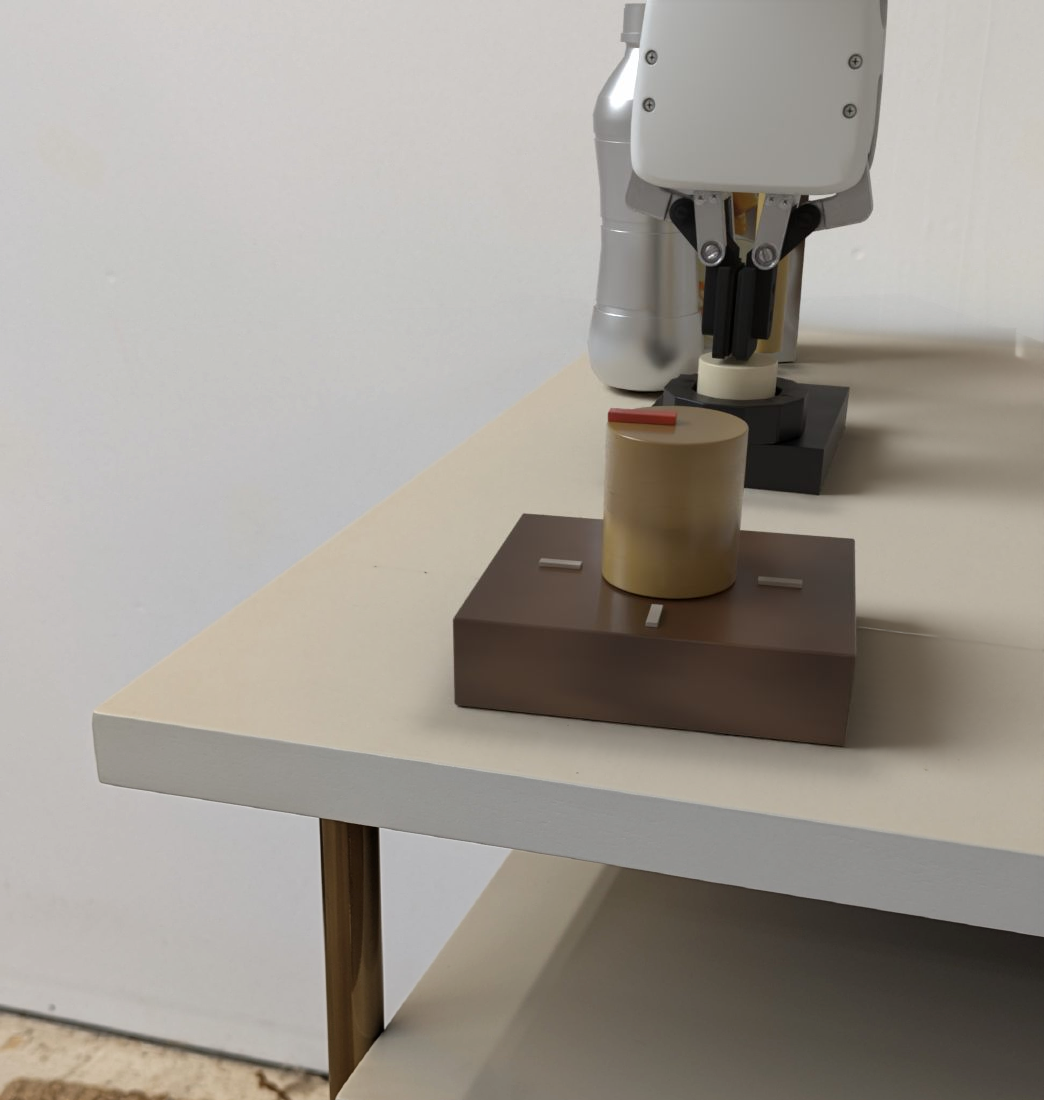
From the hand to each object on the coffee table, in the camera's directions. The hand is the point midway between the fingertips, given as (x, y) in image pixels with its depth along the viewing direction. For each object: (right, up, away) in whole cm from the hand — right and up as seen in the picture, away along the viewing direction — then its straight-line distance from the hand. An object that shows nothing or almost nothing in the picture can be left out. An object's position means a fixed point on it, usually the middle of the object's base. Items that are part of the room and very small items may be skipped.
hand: (734, 352), depth 61 cm
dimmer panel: (-5, -14, -16) cm, 22 cm away
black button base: (+1, -4, +6) cm, 7 cm away
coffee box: (+3, +6, +25) cm, 26 cm away
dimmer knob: (-5, -12, -17) cm, 22 cm away
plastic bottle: (-3, +2, +17) cm, 17 cm away
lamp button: (0, -2, +1) cm, 2 cm away
